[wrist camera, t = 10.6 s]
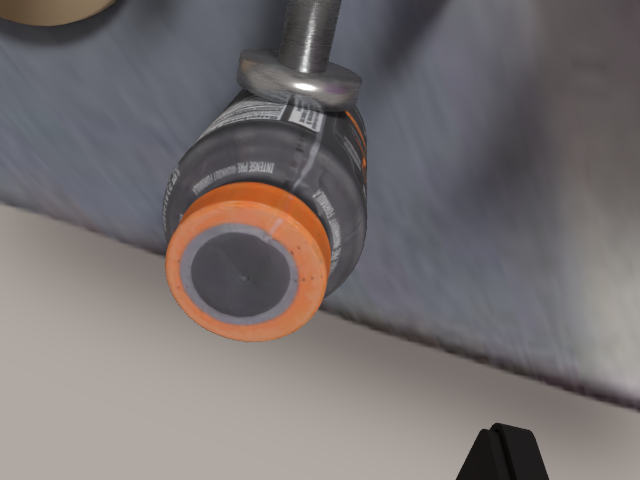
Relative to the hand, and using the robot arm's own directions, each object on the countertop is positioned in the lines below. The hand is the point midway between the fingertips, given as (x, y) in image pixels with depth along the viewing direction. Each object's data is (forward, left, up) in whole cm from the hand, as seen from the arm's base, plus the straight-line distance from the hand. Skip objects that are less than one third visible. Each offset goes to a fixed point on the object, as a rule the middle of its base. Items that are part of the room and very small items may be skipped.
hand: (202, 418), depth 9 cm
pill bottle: (0, 0, -16) cm, 16 cm away
